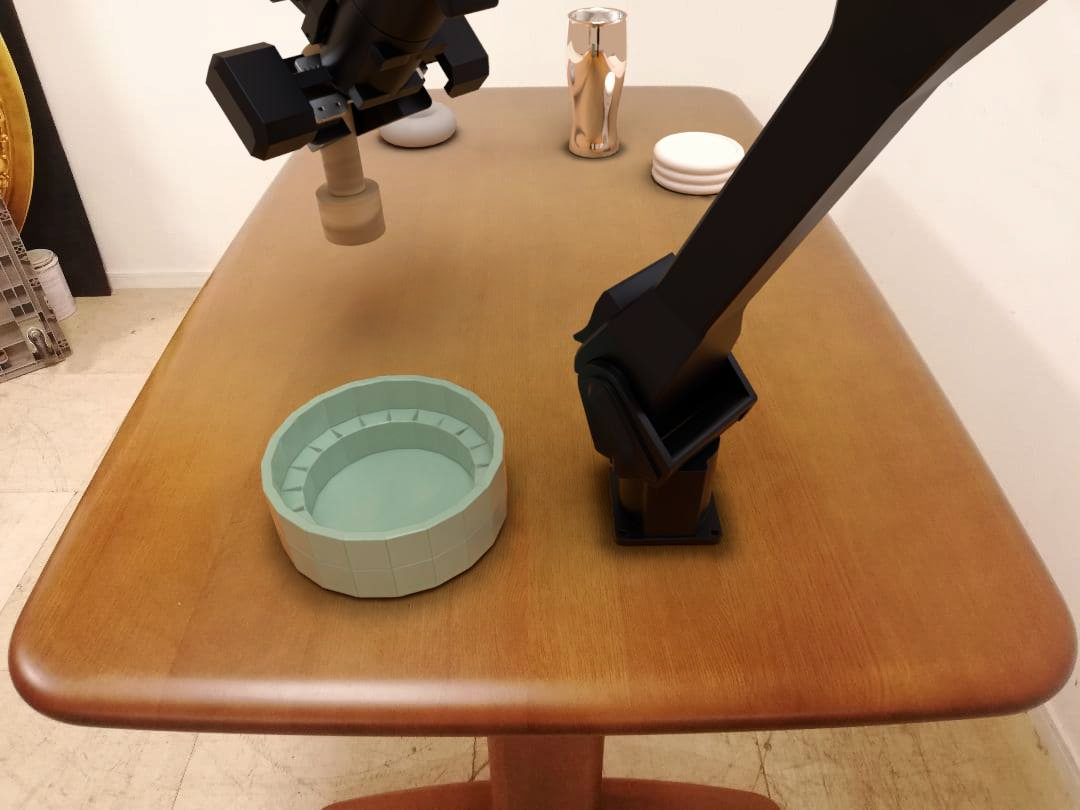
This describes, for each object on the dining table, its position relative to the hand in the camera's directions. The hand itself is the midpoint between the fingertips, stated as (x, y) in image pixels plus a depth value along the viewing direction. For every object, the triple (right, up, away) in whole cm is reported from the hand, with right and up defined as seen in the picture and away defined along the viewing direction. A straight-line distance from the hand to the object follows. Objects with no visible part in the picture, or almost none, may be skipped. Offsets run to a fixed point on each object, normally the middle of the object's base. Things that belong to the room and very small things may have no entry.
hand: (328, 139), depth 58 cm
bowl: (+7, -27, -8) cm, 29 cm away
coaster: (+33, +6, +30) cm, 45 cm away
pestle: (+1, -6, +4) cm, 7 cm away
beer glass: (+22, +11, +37) cm, 45 cm away
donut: (0, +14, +41) cm, 43 cm away
